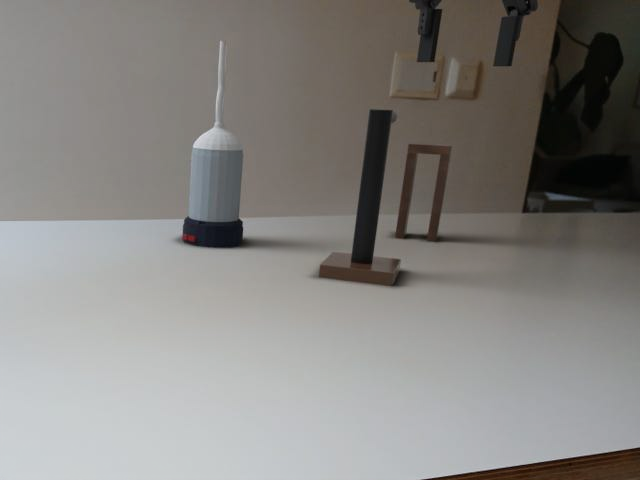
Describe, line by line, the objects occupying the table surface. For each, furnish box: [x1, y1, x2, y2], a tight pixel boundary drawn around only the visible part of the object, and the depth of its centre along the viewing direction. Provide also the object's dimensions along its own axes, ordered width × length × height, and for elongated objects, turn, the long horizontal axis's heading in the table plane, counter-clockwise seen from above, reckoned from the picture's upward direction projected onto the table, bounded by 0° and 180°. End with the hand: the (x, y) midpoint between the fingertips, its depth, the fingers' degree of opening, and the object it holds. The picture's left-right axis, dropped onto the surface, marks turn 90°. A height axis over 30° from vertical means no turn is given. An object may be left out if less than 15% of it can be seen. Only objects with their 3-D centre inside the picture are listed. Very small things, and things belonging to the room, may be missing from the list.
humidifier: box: [182, 40, 244, 249], centre depth 96 cm, size 8×8×25 cm
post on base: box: [318, 108, 402, 287], centre depth 85 cm, size 8×14×18 cm, turn 157°
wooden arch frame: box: [394, 141, 453, 243], centre depth 106 cm, size 6×4×13 cm
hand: (464, 64), depth 104 cm, fingers open, 13 cm apart
